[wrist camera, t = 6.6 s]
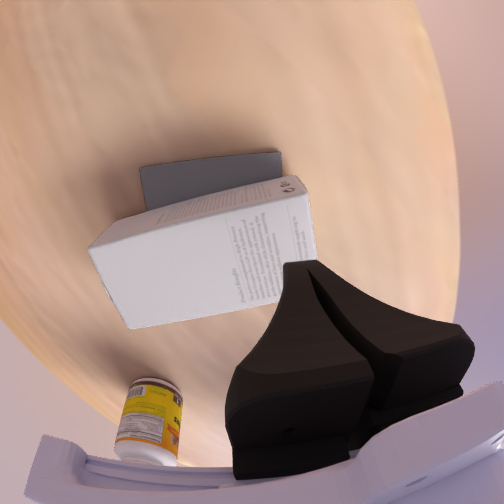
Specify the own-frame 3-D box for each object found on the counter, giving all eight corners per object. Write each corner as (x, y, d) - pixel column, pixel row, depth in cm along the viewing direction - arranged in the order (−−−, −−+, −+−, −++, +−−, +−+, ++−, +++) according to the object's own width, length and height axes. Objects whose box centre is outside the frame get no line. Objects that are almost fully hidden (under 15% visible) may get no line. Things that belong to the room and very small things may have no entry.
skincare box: (296, 172, 17) (112, 215, 18) (312, 192, 13) (82, 244, 14) (310, 261, 20) (144, 292, 21) (324, 300, 16) (125, 332, 17)
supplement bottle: (178, 411, 28) (169, 494, 19) (128, 397, 27) (109, 479, 18) (189, 383, 26) (180, 480, 17) (132, 367, 25) (107, 462, 15)
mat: (285, 281, 21) (285, 283, 21) (166, 291, 21) (166, 293, 21) (280, 151, 17) (280, 152, 17) (140, 167, 17) (139, 168, 16)
